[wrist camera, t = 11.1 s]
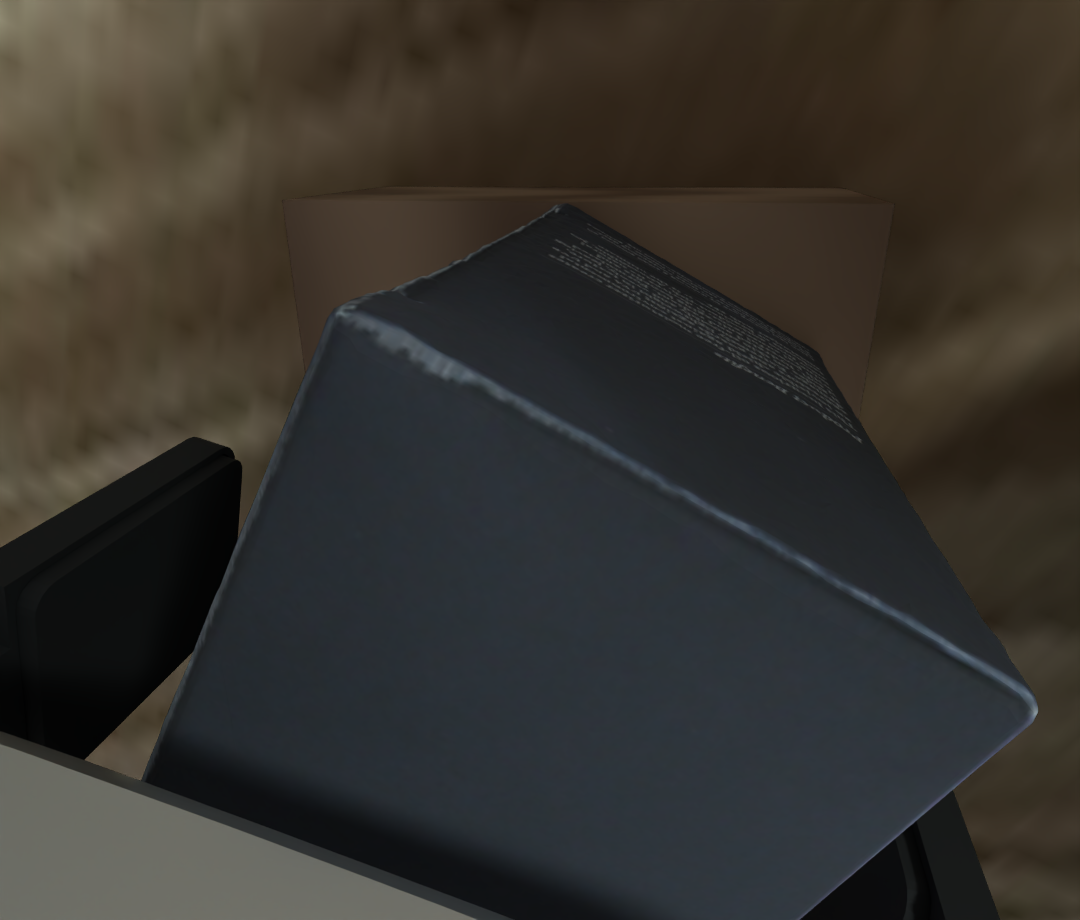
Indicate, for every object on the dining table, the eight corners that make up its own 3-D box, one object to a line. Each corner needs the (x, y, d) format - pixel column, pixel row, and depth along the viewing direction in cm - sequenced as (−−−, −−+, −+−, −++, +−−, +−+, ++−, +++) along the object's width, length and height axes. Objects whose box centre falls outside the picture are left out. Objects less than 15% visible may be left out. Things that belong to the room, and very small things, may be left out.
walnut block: (839, 187, 19) (894, 203, 13) (783, 593, 23) (807, 727, 18) (390, 186, 21) (282, 200, 16) (420, 557, 26) (344, 667, 20)
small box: (582, 703, 19) (468, 1253, 10) (360, 578, 19) (22, 1010, 10) (844, 358, 15) (1112, 751, 5) (556, 189, 14) (283, 275, 5)
